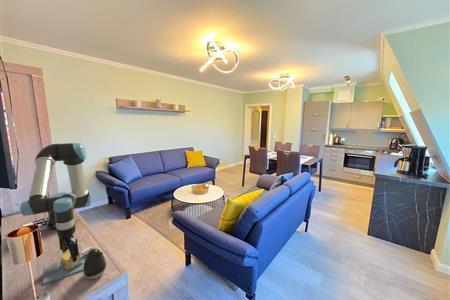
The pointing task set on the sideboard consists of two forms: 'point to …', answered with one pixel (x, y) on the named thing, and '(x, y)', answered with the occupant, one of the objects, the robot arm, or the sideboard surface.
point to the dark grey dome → (94, 264)
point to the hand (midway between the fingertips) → (71, 263)
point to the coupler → (67, 260)
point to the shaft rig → (63, 269)
